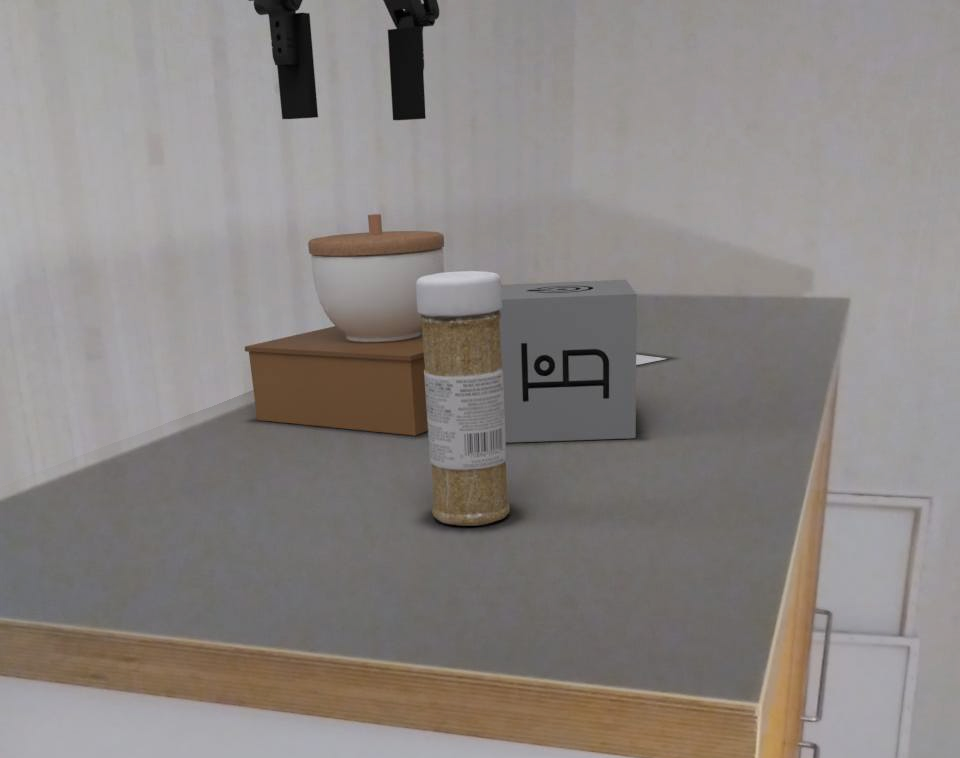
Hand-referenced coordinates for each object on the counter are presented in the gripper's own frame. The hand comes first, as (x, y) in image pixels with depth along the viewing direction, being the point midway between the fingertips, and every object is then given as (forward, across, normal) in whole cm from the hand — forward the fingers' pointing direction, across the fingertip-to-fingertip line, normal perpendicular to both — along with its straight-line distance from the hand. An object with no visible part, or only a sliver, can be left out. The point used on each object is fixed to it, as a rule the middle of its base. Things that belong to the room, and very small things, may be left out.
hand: (358, 119), depth 85 cm
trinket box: (+16, 0, -1) cm, 16 cm away
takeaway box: (+22, 0, 0) cm, 22 cm away
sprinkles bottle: (+22, -23, -24) cm, 40 cm away
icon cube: (+22, 0, -18) cm, 28 cm away
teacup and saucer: (+22, +24, 0) cm, 33 cm away
